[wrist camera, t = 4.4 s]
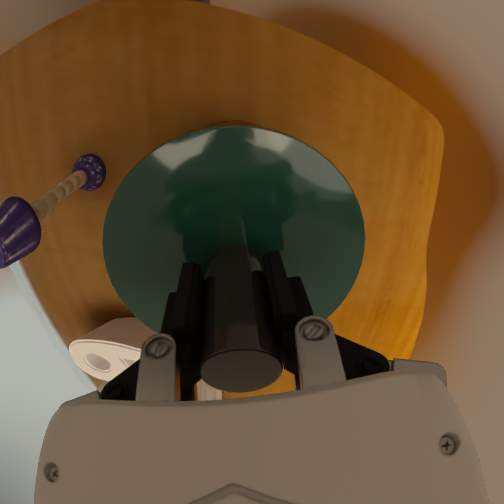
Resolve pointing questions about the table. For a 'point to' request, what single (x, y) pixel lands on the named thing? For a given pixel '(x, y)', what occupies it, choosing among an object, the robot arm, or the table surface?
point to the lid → (233, 239)
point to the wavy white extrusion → (119, 352)
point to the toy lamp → (42, 210)
